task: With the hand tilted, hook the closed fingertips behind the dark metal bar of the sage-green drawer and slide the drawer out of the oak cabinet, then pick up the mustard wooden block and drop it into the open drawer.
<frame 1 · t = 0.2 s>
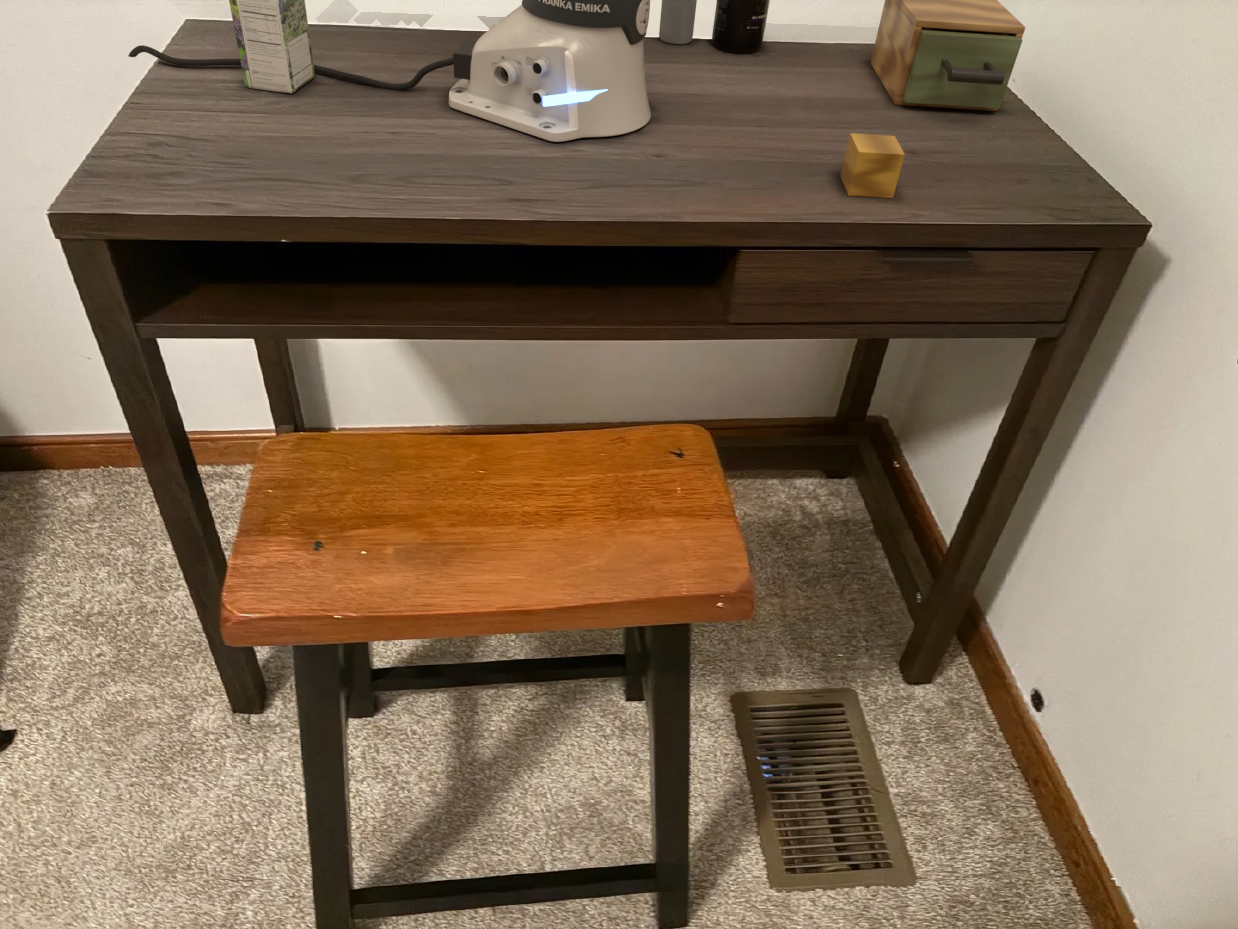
block: (866, 186, 93), on the table
cabinet: (931, 86, 116), on the table
planter: (675, 40, 124), on the table
drawer: (952, 59, 110), point 5 cm above the table, slide at 0.5 cm
syrup box: (282, 84, 104), on the table
supplement bottle: (736, 47, 124), on the table
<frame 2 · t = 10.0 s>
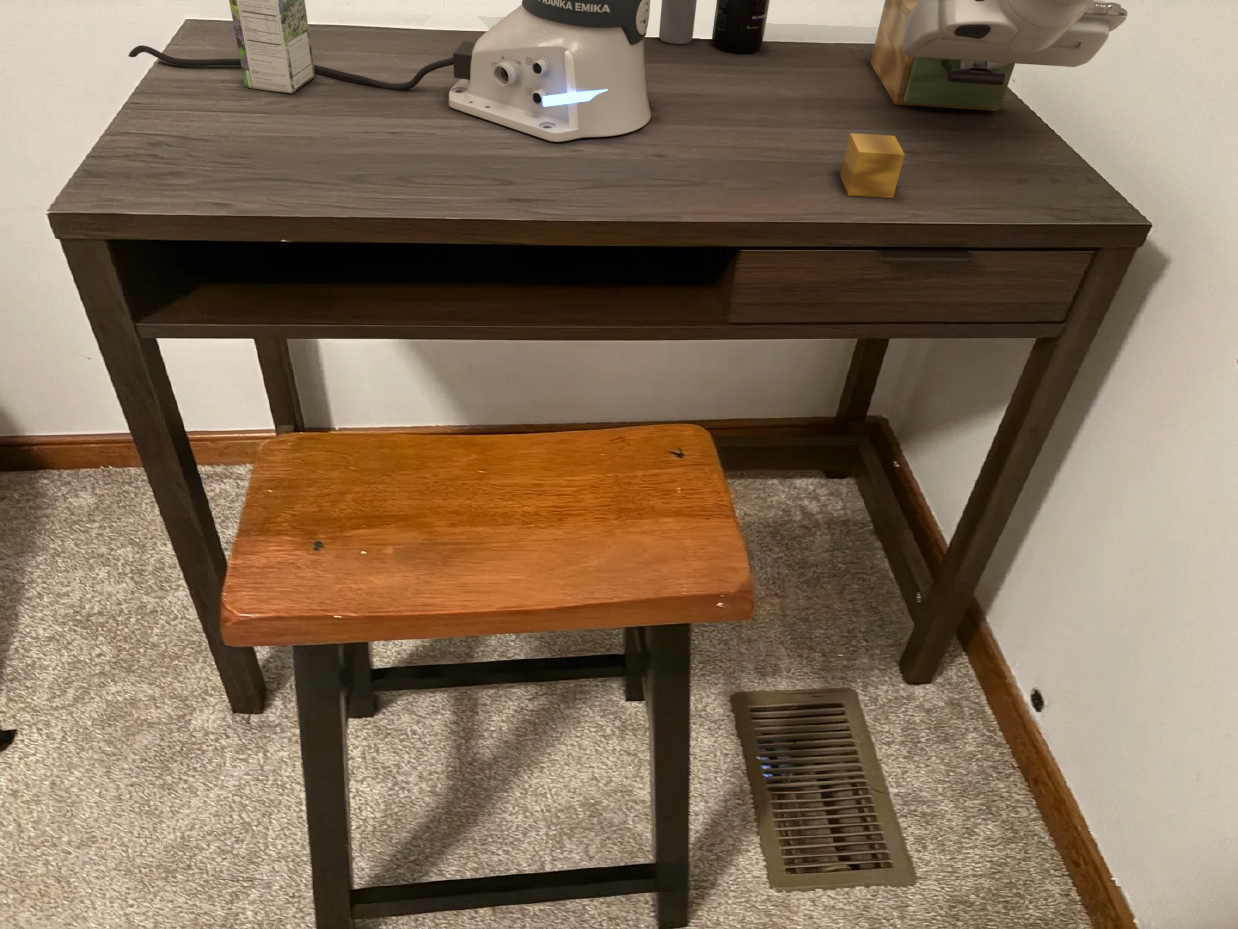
hand: (973, 68, 104), 6 cm above the table, tool tilted 45°, fingers closed, pressing on drawer
drawer: (952, 59, 110), point 5 cm above the table, slide at 0.6 cm, touching gripper
everything else where it was.
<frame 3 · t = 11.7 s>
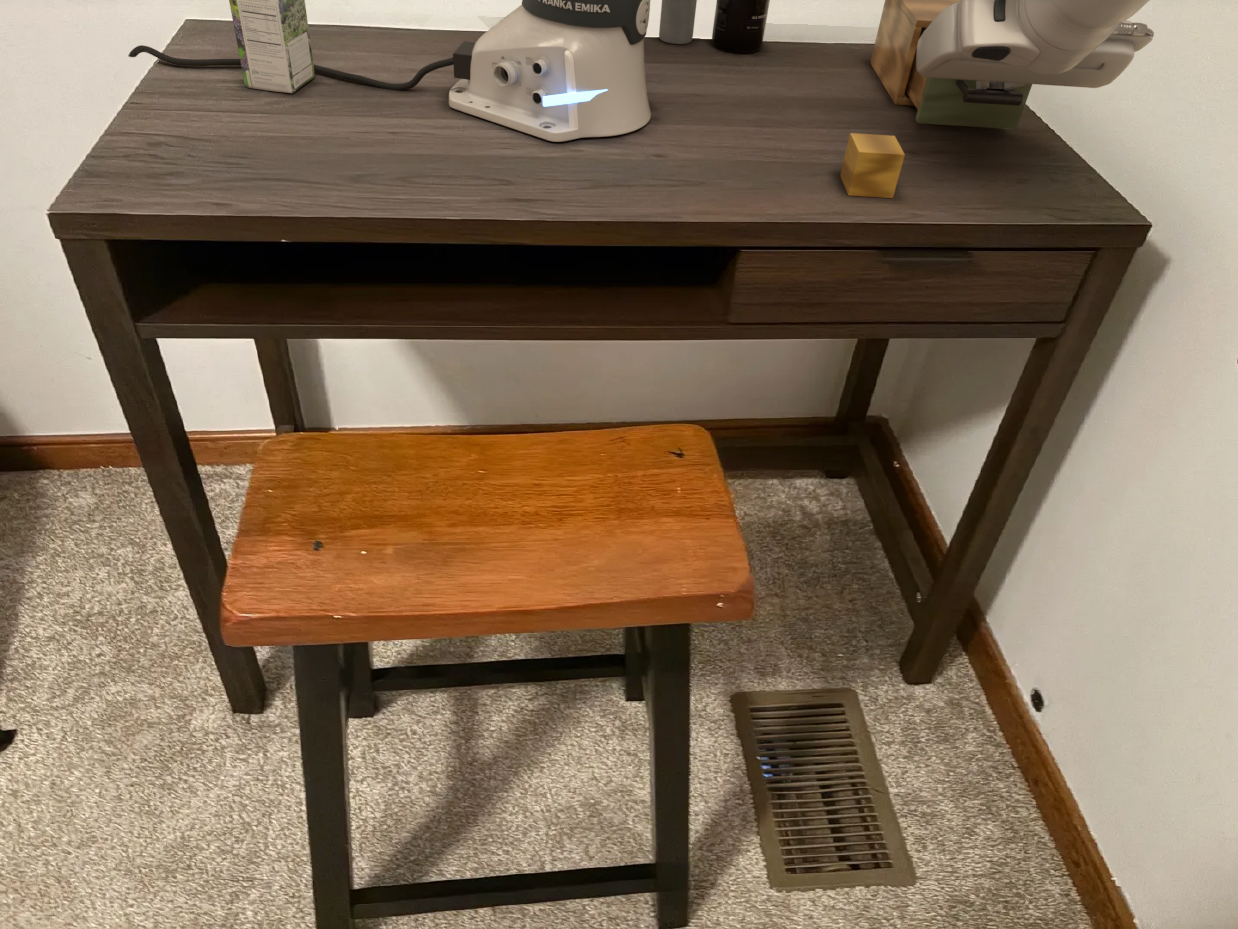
hand: (989, 87, 99), 6 cm above the table, tool tilted 45°, fingers closed, pressing on drawer
drawer: (967, 77, 105), point 5 cm above the table, slide at 6.7 cm, touching gripper
everything else where it was.
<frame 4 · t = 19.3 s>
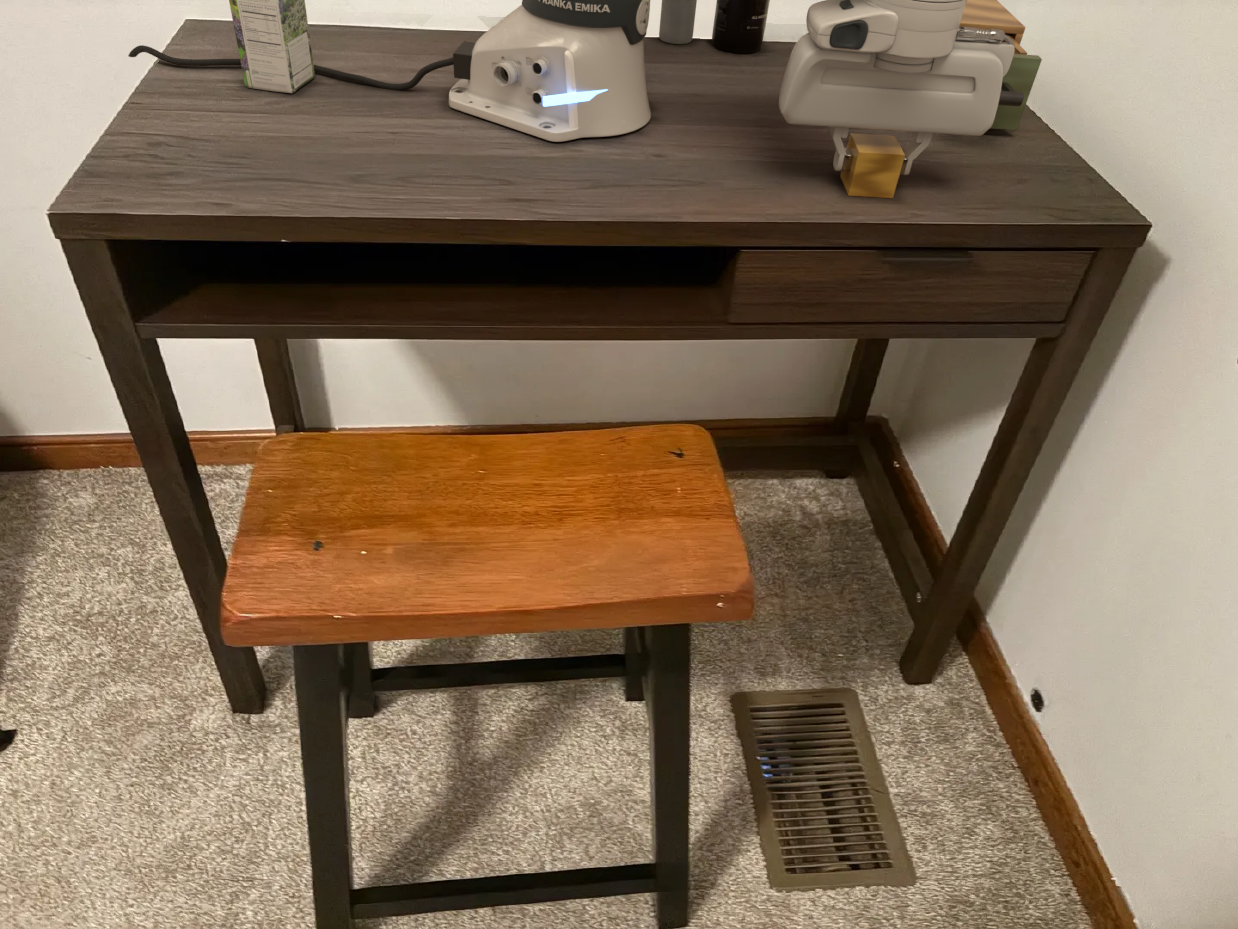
hand: (869, 170, 92), 2 cm above the table, tool pointing down, fingers closed on block, 4 cm apart
block: (866, 186, 93), on the table, touching gripper
drawer: (967, 78, 105), point 5 cm above the table, slide at 6.9 cm
everything else where it was.
when the fingers open (9 cm above the table, at t = 25.5 s): block drops 5 cm, resting on drawer.
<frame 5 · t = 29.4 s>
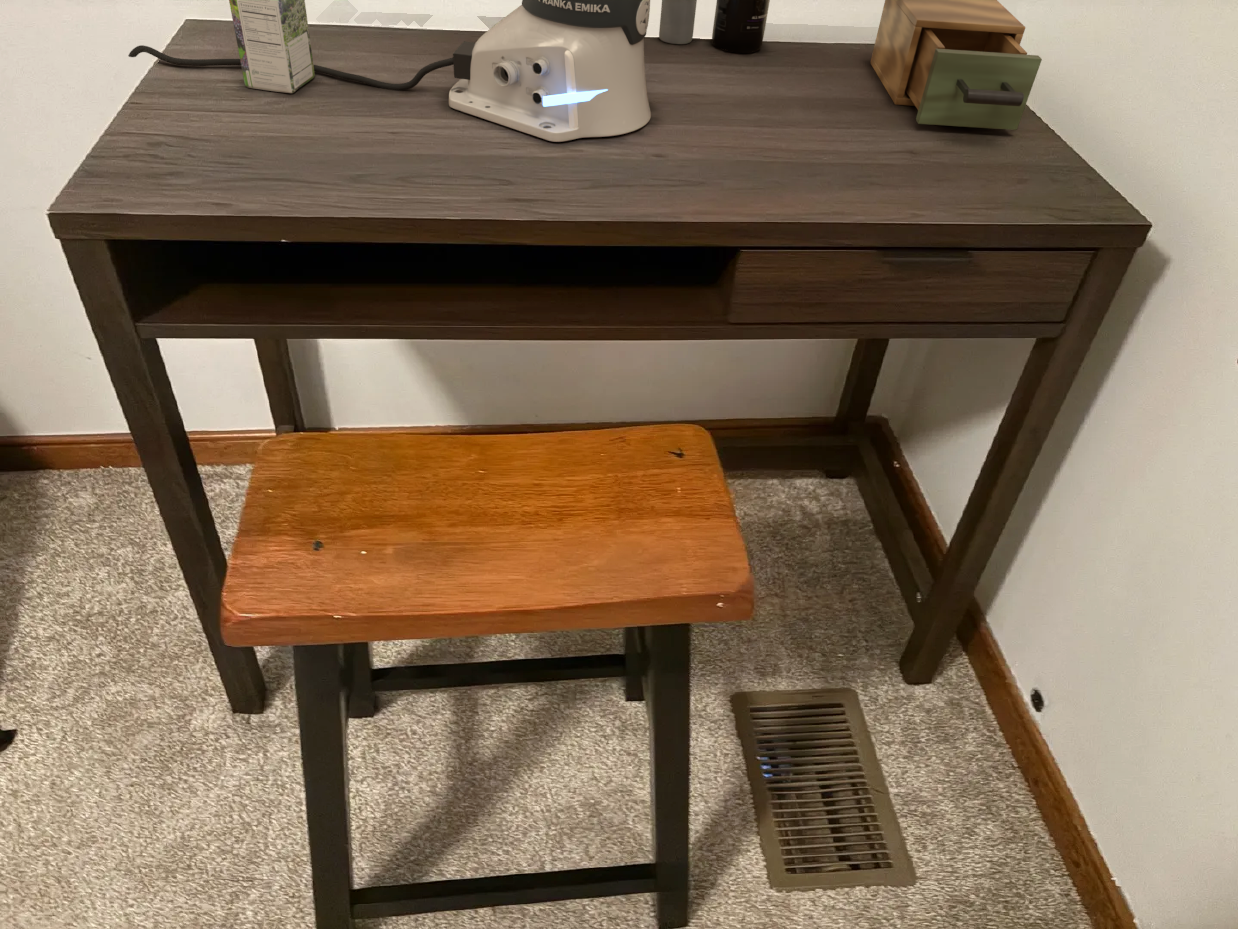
block: (960, 104, 106), point 2 cm above the table, touching drawer
drawer: (967, 78, 105), point 5 cm above the table, slide at 6.9 cm, touching block
everything else where it was.
at the end: drawer slide at 6.9 cm; block 0.2 cm from the target spot in the drawer, point 2.0 cm above the cabinet's base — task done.
